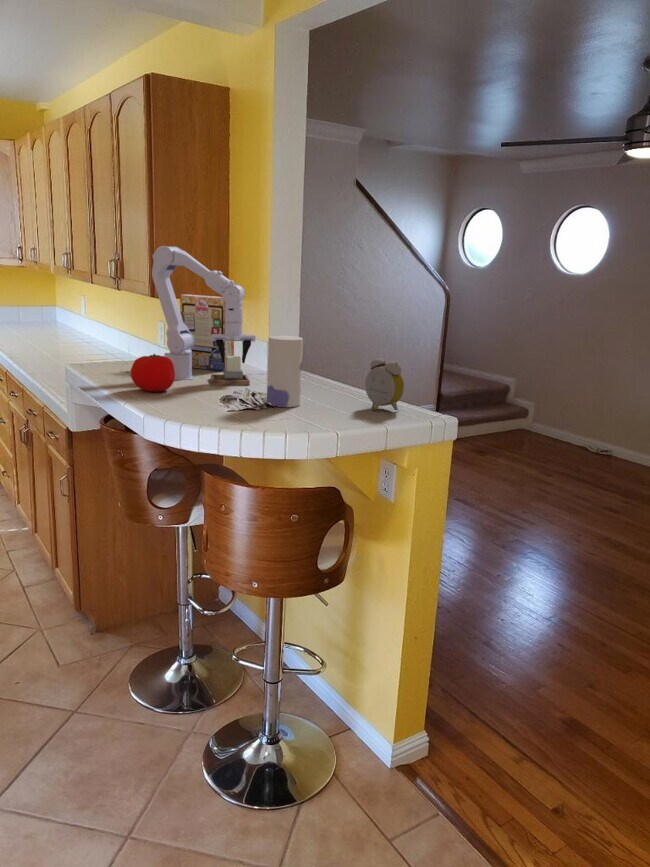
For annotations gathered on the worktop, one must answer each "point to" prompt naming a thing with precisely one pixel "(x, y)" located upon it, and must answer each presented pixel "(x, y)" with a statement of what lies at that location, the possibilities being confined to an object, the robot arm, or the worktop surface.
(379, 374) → the alarm clock
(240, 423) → the worktop surface
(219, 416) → the worktop surface
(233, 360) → the beige cube
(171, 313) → the robot arm
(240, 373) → the grey block
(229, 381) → the brown wooden tray
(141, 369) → the tomato
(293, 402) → the container
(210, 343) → the cereal box
